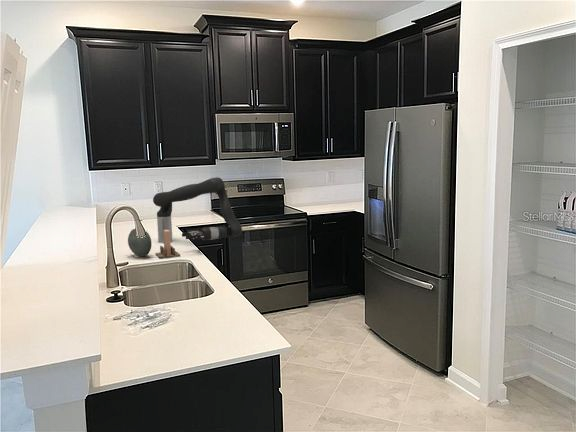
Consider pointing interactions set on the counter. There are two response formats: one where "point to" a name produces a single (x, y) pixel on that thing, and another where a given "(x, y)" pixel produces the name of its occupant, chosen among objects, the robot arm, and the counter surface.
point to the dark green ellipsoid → (139, 244)
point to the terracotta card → (167, 241)
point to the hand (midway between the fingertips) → (183, 236)
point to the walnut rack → (163, 253)
